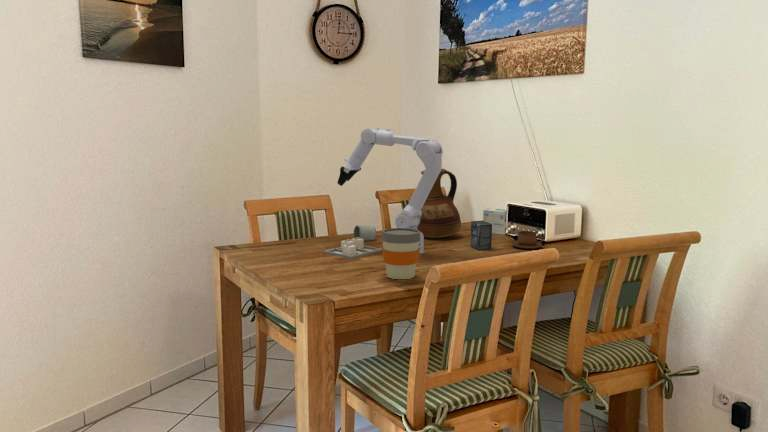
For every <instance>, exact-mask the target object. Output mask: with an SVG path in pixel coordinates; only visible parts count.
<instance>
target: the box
mask: <svg viewBox="0 0 768 432" xmlns="http://www.w3.org/2000/svg"><path fill="white" fill-rule="evenodd" d="M492 235H493V234H492V224H491V223H488V222H485V221H483V220H473V221H472V220H471V223H470V247H471V248H473V249H475V250H478V251H491V250H492Z"/></svg>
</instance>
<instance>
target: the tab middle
mask: <svg viewBox="0 0 768 432" xmlns="http://www.w3.org/2000/svg"><path fill="white" fill-rule="evenodd" d="M350 243H351V244H352V245H354V241H351V239H350V238H347V239H344V240H341V241H340V244H341V245H340V247H341V249H342V250H343V245H346V244H350Z"/></svg>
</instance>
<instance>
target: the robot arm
mask: <svg viewBox="0 0 768 432" xmlns="http://www.w3.org/2000/svg"><path fill="white" fill-rule="evenodd" d="M360 133H361V134H360V139H359V141H358V143H357V144H356V146H355V148H354V149H353V151H352V152H351V154H350V156H349V157H345V158H344V161H345V164H346V165H345V166H343V165H342V166H341V167H340V169H339V176H338V178H337V179H338V180H337V182H336V183H337V185H339V186H340V187H342V186H344V184H346V182H349V181H350V180H351V179H352V178H353V177H354V176H355V175H356V174H357V173H358V172H360V171H361V170H362V165H363V164H364V162H365V161H366V159H367V157H368V155H369V154H370V152H371V151H372V149H373V148H374V146H375V145H378V146H379V145H380V146H386V147H392V146H394V145H395V144H398V145H402V146H410V147H411V148H412V150H413V151H415V153H416V155H417V157H418V158H419V159H420V160H421V162H422V163H423V165H424V167H425V169H424V170H425V171H424V170H423V171H424V173H423V175H422V174H421V175H422V176H421V178H420V180H419V181H418V184H417V186H416V187H415V190H414V192H413V194H412V196H411V197H410V200H409V202H408V204H407V205H406V206H405V207H404V208H403V209H402V210H401V212H400V213H399V214H398V215H397V216H396V217H395V221H394V223H395V226H396V228H410V229H416V230H417V226H418V225H419V223H420V217H421V214H422V211H421V209H422V207H423V205H424V203H425V201H426V199H427V197H428V195H429V193H430V191H431V189H432V187H433V185H434V183H435V181H436V179H437V177H438V175H439V173H440V171H441V169H443V167H442V166H443V164H442V161H443V160H442V156H443V154H444V151H443V148H442V144H440V142H439V141H437V140H436V139H435V140H431V139H430V138H426V137H419V136H410V135H398V134H397V133H396V132H394V131H393V130H392V129H391V128H386V129H380V128H377V127H376V128H365V129H363V130H362V131H361V132H360ZM424 238H425V237H424V236H423V233H421V232H420V241H419V249H420V250H419V255H420V254H421V255H422V254H425V251H424V250H425V249H424V247H425V244H424V243H425V241H424V240H425V239H424Z"/></svg>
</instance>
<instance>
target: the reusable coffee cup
mask: <svg viewBox="0 0 768 432" xmlns="http://www.w3.org/2000/svg"><path fill="white" fill-rule="evenodd" d="M381 241H382V245H383V247H382V250H383V251H382V259H383V263H385V271H386V277H389V278H393V279H408V278H412V277H414V278H415V275H416V267H417V264H418V262H419V255H420V253H419V250H420V249H419V241H420V231H419V230H416V229H410V228H397V227H394V228H393V227H392V228H386V229H383V230H382V234H381ZM389 278H388V279H389ZM393 279H392V280H393Z"/></svg>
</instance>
